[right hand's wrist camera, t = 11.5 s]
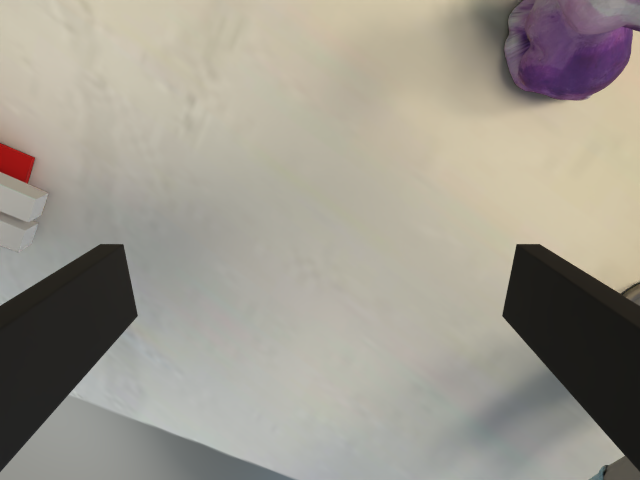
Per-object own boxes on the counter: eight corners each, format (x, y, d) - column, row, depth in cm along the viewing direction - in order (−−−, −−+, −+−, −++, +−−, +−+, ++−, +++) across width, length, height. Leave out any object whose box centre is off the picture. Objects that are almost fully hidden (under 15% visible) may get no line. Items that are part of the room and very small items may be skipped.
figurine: (499, -19, 32) (638, -120, 18) (611, -9, 32) (835, -101, 18) (475, 95, 35) (578, 83, 21) (577, 103, 36) (746, 98, 21)
